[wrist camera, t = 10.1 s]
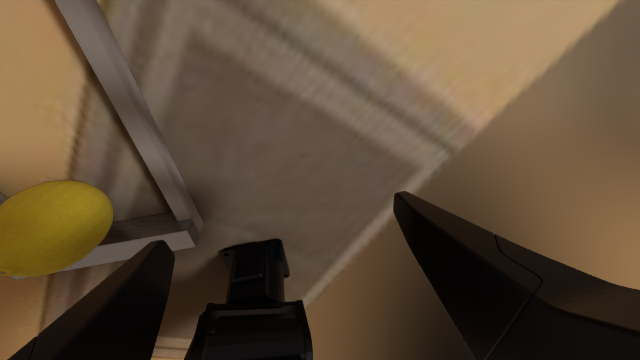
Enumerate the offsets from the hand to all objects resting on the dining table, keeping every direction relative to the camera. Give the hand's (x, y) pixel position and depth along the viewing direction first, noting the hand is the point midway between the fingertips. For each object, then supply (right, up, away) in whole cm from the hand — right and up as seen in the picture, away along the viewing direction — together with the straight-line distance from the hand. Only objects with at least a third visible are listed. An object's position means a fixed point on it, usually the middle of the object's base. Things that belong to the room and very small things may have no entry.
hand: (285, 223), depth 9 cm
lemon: (-18, +1, +11) cm, 21 cm away
